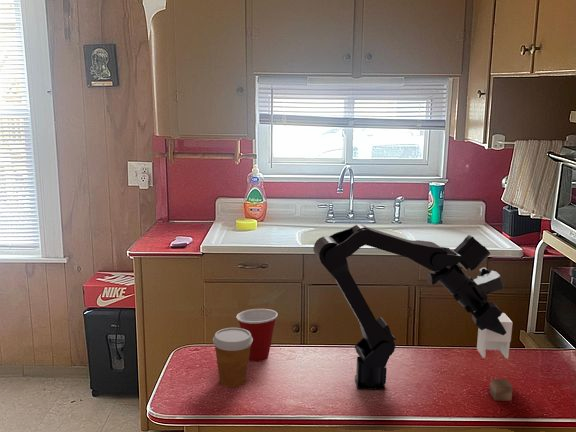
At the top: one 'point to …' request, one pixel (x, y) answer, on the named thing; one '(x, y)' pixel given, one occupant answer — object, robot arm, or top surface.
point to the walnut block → (501, 389)
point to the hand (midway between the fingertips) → (500, 328)
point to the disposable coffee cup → (232, 355)
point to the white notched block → (495, 338)
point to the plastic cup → (258, 331)
